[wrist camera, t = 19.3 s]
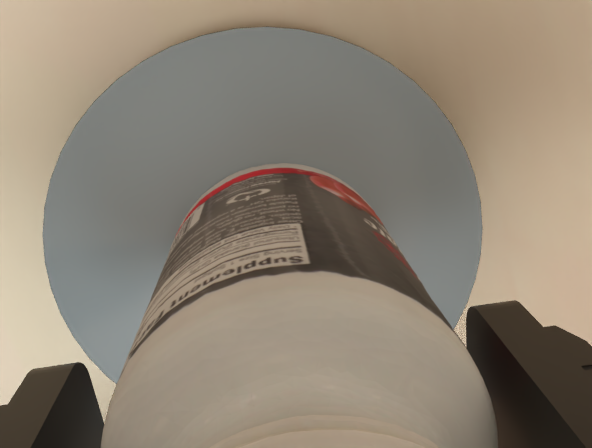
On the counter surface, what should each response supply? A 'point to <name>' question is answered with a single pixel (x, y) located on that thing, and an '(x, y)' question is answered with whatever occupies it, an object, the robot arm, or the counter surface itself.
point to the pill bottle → (294, 332)
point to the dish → (242, 155)
